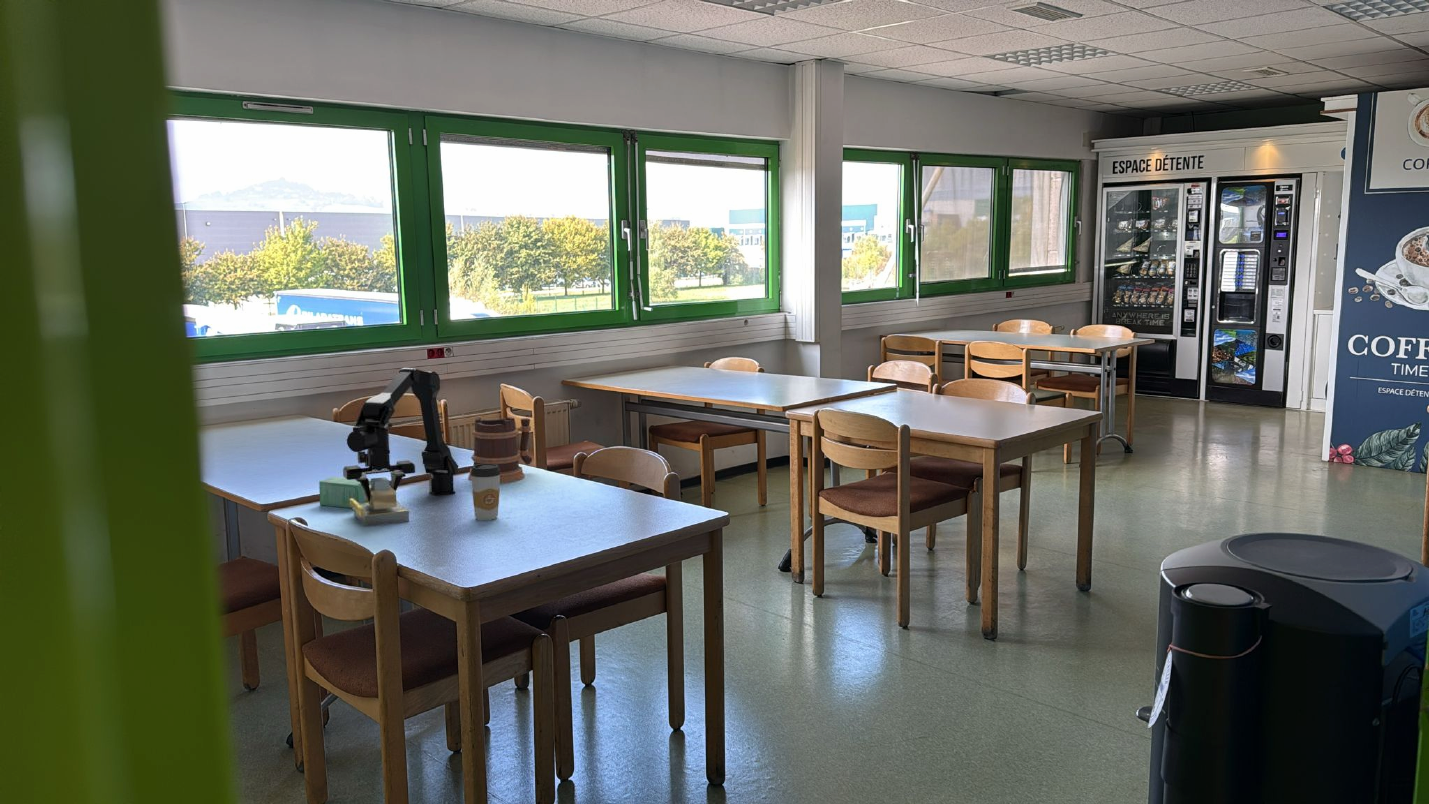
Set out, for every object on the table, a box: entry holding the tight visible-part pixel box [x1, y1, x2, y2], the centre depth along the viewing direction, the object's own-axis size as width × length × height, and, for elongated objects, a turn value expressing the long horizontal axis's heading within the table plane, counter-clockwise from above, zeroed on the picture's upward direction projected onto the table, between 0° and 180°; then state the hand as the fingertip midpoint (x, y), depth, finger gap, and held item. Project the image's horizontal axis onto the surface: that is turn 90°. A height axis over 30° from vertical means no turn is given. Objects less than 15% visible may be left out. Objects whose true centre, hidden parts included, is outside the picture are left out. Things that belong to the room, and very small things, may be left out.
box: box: [318, 476, 371, 509], centre depth 310 cm, size 7×14×8 cm, turn 73°
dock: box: [349, 498, 410, 527], centre depth 295 cm, size 13×14×5 cm
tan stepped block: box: [365, 485, 397, 509], centre depth 295 cm, size 11×6×4 cm, turn 31°
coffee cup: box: [469, 464, 501, 521], centre depth 296 cm, size 8×8×15 cm
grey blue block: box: [370, 476, 391, 491], centre depth 294 cm, size 5×4×2 cm
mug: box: [467, 416, 533, 484], centre depth 348 cm, size 18×23×20 cm
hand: (380, 499), depth 295 cm, fingers closed on tan stepped block, 6 cm apart
